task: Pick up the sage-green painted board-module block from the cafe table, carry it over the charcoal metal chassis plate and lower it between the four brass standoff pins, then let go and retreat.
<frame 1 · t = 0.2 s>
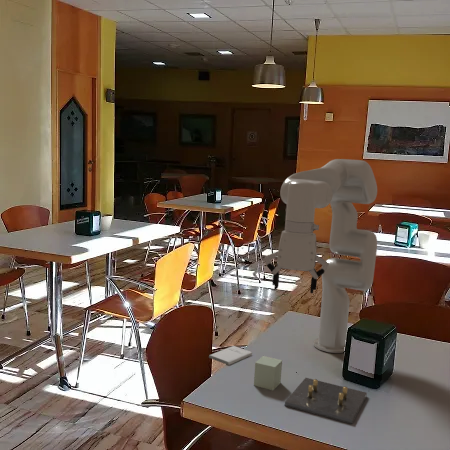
hand: (293, 290, 146), 30 cm above the table, tool pointing down, fingers open, 9 cm apart
external hard drive: (230, 358, 176), on the table
board module: (267, 384, 157), on the table
chassis: (326, 401, 148), on the table
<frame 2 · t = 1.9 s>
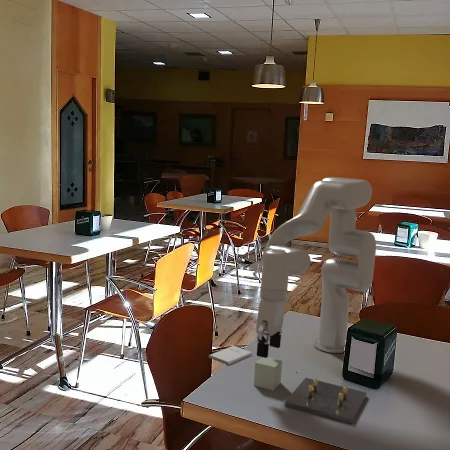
hand: (268, 351, 155), 10 cm above the table, tool pointing down, fingers open, 9 cm apart
nothing on the table moved.
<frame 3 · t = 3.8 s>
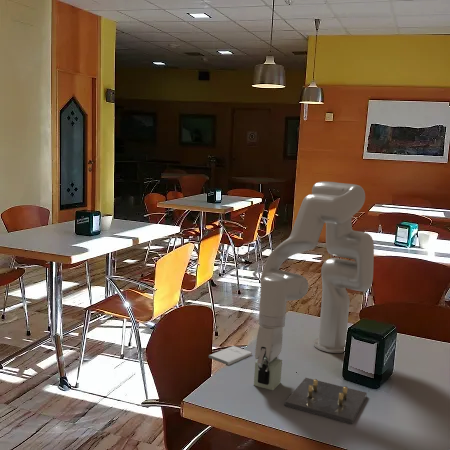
hand: (267, 378, 156), 2 cm above the table, tool pointing down, fingers closed on board module, 6 cm apart
board module: (267, 384, 157), on the table, touching gripper
everything else where it was.
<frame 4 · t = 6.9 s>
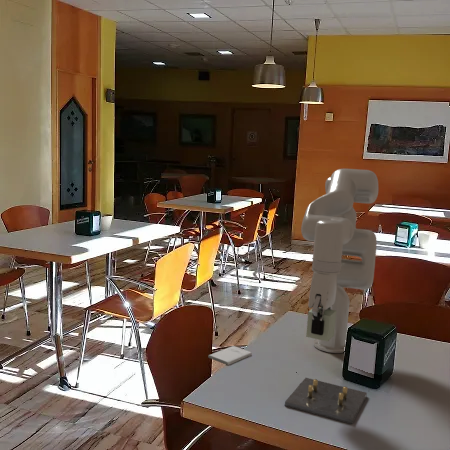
hand: (320, 330, 147), 20 cm above the table, tool pointing down, fingers closed on board module, 6 cm apart
board module: (320, 335, 147), point 18 cm above the table, touching gripper
everything else where it was.
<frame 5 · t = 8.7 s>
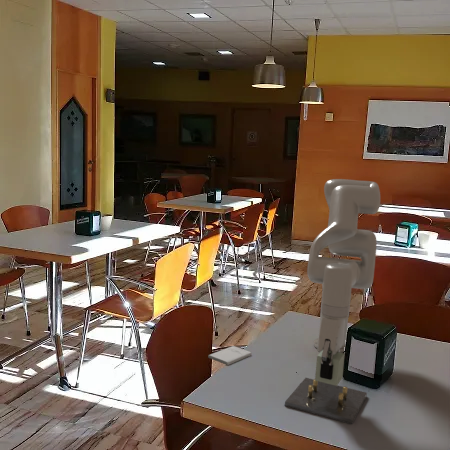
hand: (329, 373, 147), 8 cm above the table, tool pointing down, fingers closed on board module, 6 cm apart
board module: (328, 379, 147), point 6 cm above the table, touching gripper
everything else where it was.
when the fingers open (4 cm above the table, at t = 10.4 s): board module stays where it is, resting on chassis.
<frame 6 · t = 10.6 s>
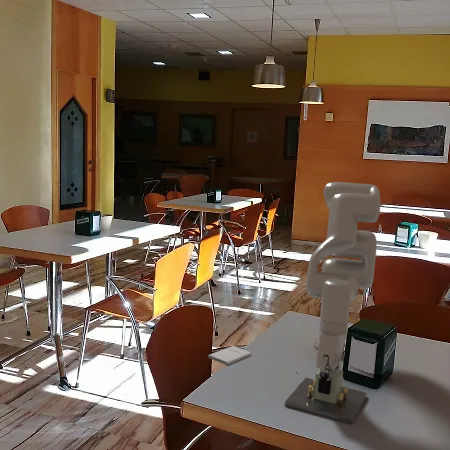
hand: (328, 387, 147), 4 cm above the table, tool pointing down, fingers open, 7 cm apart
board module: (327, 396, 148), point 1 cm above the table, touching chassis
everything else where it was.
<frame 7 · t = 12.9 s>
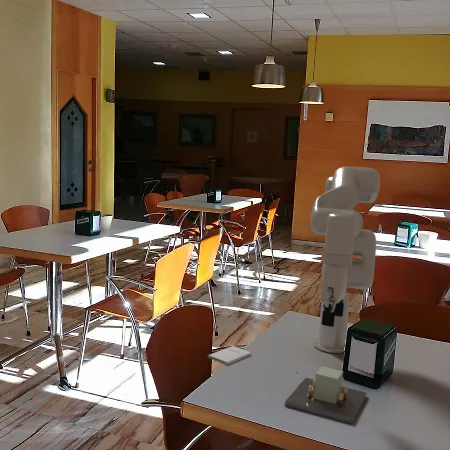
hand: (332, 320, 146), 22 cm above the table, tool pointing down, fingers open, 9 cm apart
nothing on the table moved.
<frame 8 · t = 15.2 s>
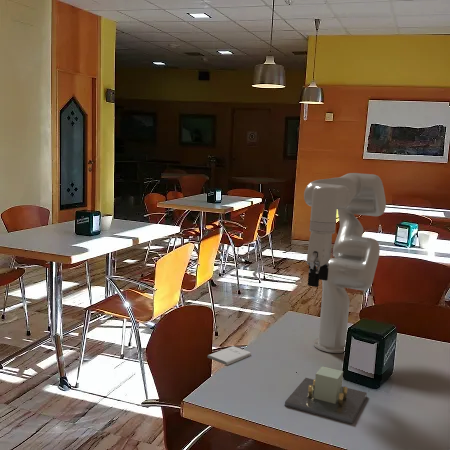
hand: (317, 282, 163), 28 cm above the table, tool pointing down, fingers open, 9 cm apart
nothing on the table moved.
at the end: board module 0.2 cm off-centre on the chassis, point 1.2 cm above the chassis's base; board module tilted 0°; the gripper is holding nothing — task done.
